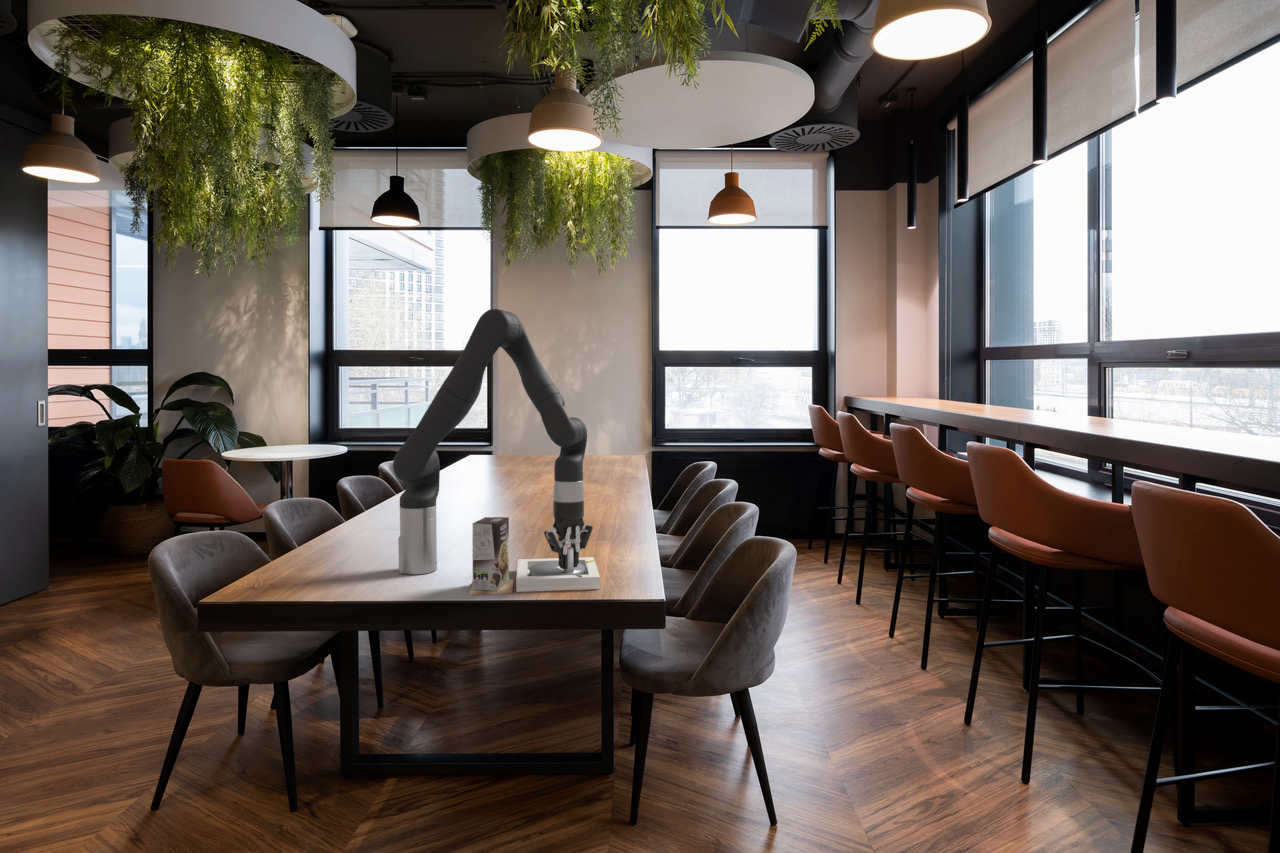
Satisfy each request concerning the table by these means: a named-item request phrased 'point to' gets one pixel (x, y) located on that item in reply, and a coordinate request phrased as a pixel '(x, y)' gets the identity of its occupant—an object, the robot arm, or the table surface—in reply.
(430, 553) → the robot arm
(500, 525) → the coffee box
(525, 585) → the white square tray
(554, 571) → the dial
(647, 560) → the table surface
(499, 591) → the coaster
